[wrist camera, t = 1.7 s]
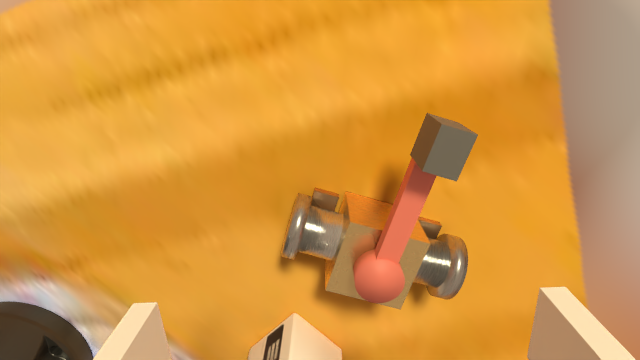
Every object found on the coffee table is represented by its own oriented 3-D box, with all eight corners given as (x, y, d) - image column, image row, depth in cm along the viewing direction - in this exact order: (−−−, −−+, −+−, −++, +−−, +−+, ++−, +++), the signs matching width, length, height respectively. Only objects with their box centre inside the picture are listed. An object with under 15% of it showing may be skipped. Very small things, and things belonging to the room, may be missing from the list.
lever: (391, 294, 32) (400, 329, 29) (347, 282, 32) (350, 317, 28) (465, 124, 27) (489, 138, 23) (414, 108, 27) (429, 120, 23)
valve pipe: (283, 239, 38) (275, 277, 32) (301, 178, 36) (296, 207, 30) (428, 278, 40) (447, 321, 34) (455, 221, 37) (480, 257, 31)
